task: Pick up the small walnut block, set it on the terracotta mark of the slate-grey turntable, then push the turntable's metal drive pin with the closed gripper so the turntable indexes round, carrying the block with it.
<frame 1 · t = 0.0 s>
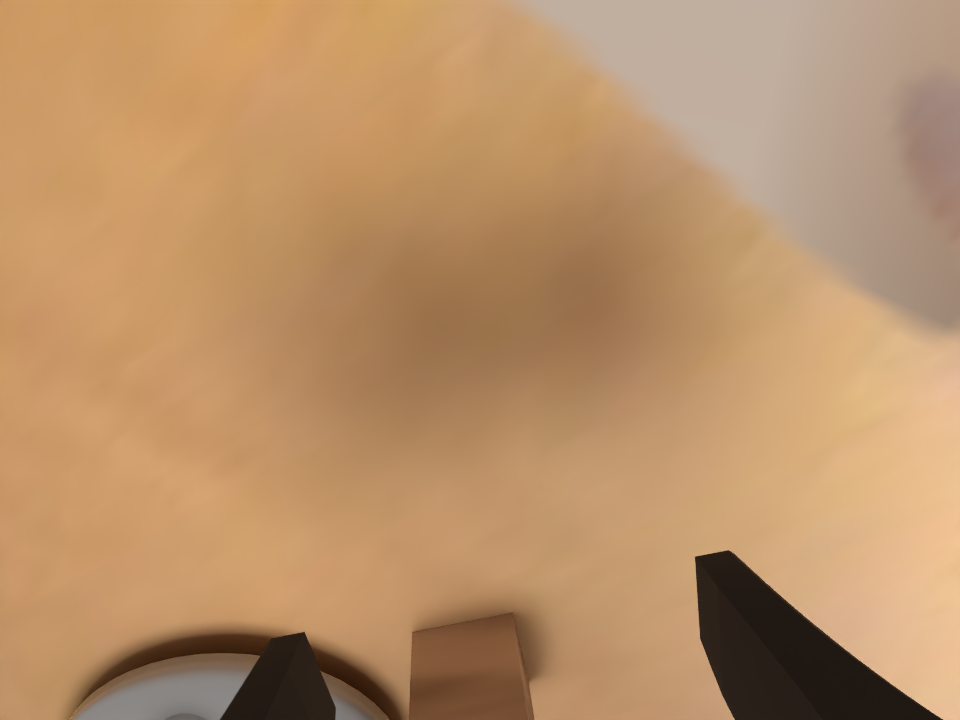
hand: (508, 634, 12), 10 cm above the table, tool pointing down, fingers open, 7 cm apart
walnut block: (472, 657, 26), on the table
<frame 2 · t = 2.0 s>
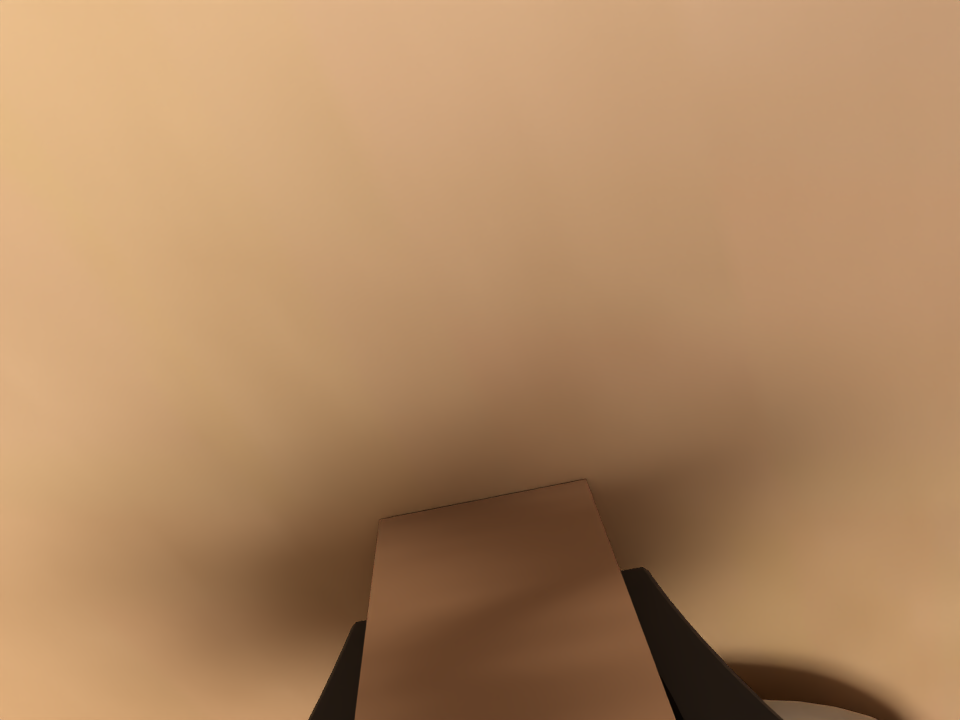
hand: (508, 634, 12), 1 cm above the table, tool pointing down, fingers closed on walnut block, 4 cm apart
walnut block: (500, 578, 13), on the table, touching gripper
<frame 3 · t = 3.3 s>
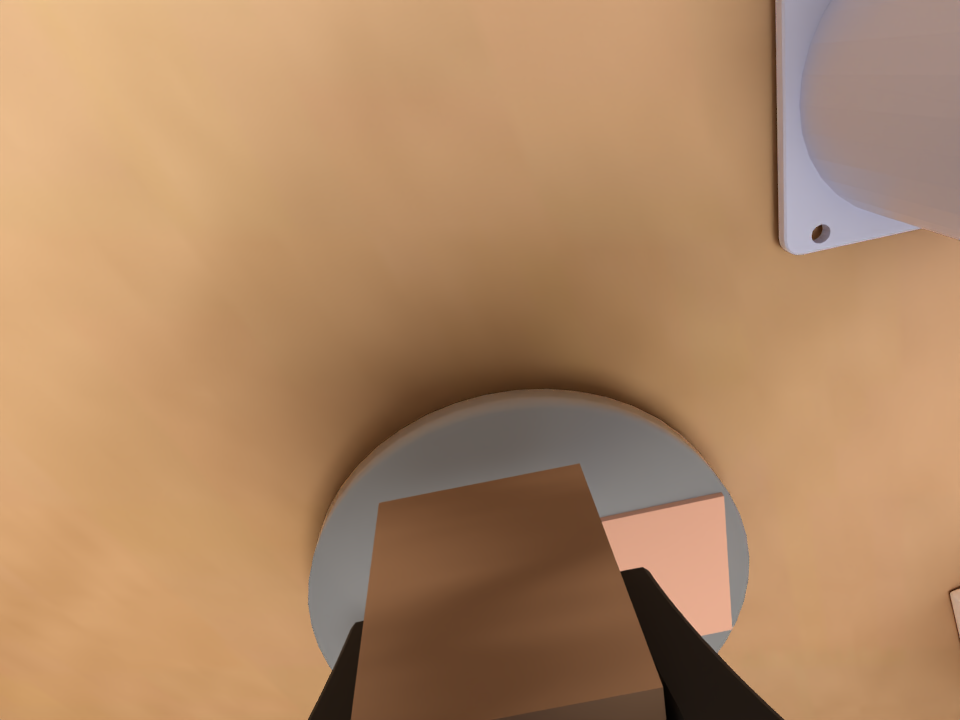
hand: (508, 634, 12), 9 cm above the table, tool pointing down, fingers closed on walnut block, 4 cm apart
walnut block: (496, 561, 13), point 7 cm above the table, touching gripper
turntable: (537, 630, 19), point 3 cm above the table, hinge at 0.0°
when the fingers open (5 cm above the table, at t = 4.9 s): walnut block stays where it is, resting on turntable.
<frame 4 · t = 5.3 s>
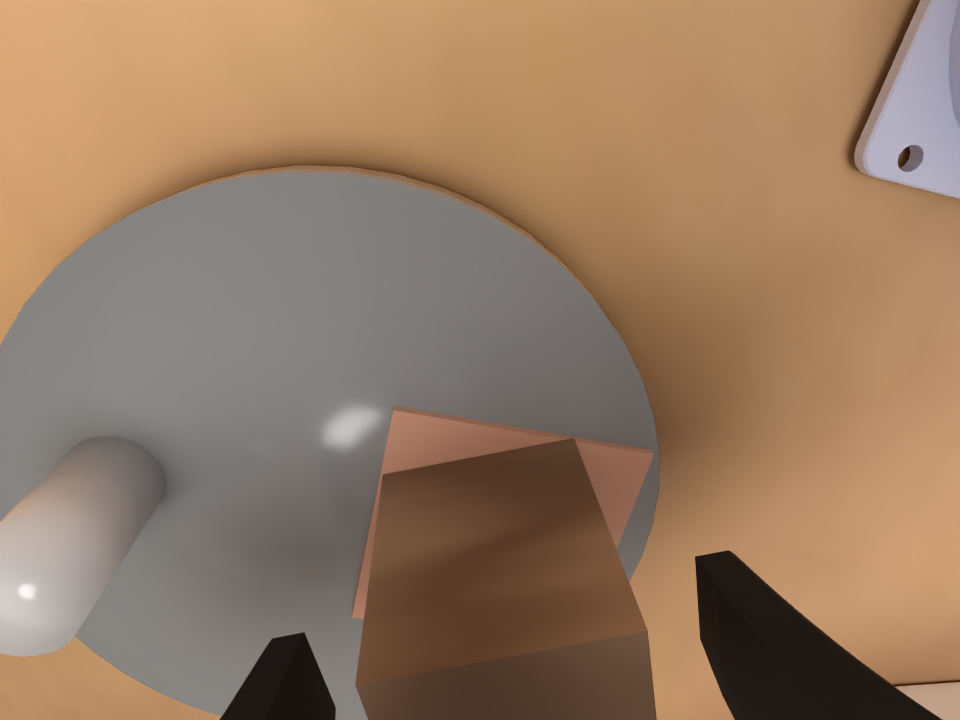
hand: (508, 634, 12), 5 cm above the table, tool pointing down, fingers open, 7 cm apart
walnut block: (494, 532, 14), point 2 cm above the table, touching turntable
turntable: (328, 547, 13), point 3 cm above the table, hinge at 0.0°, touching walnut block
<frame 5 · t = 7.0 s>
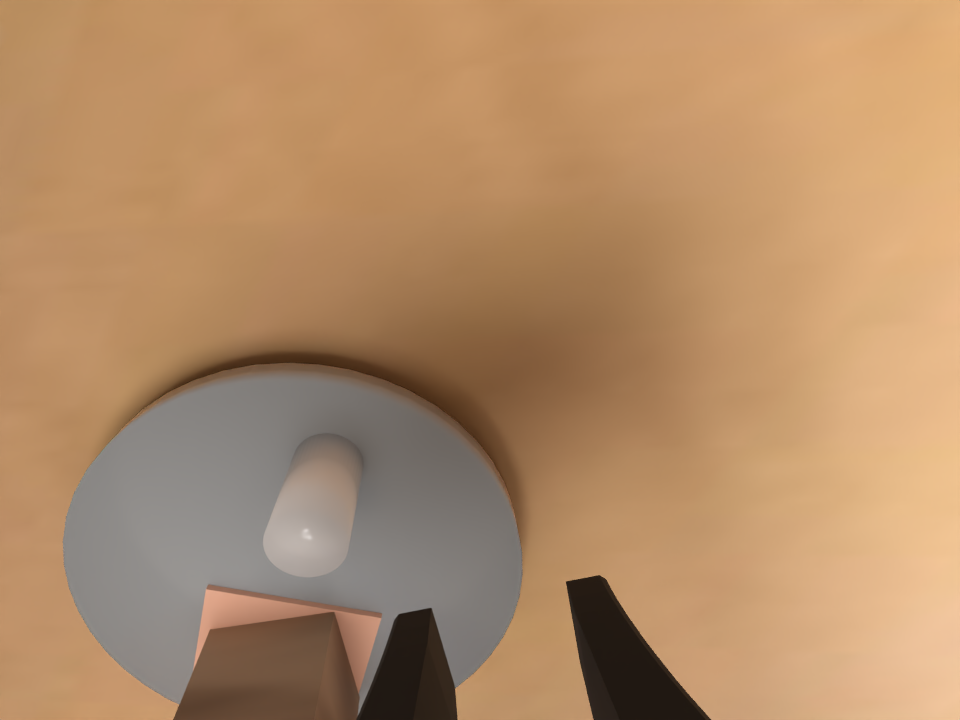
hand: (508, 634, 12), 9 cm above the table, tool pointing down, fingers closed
walnut block: (287, 664, 21), point 2 cm above the table, touching turntable
turntable: (293, 609, 19), point 3 cm above the table, hinge at 0.0°, touching walnut block
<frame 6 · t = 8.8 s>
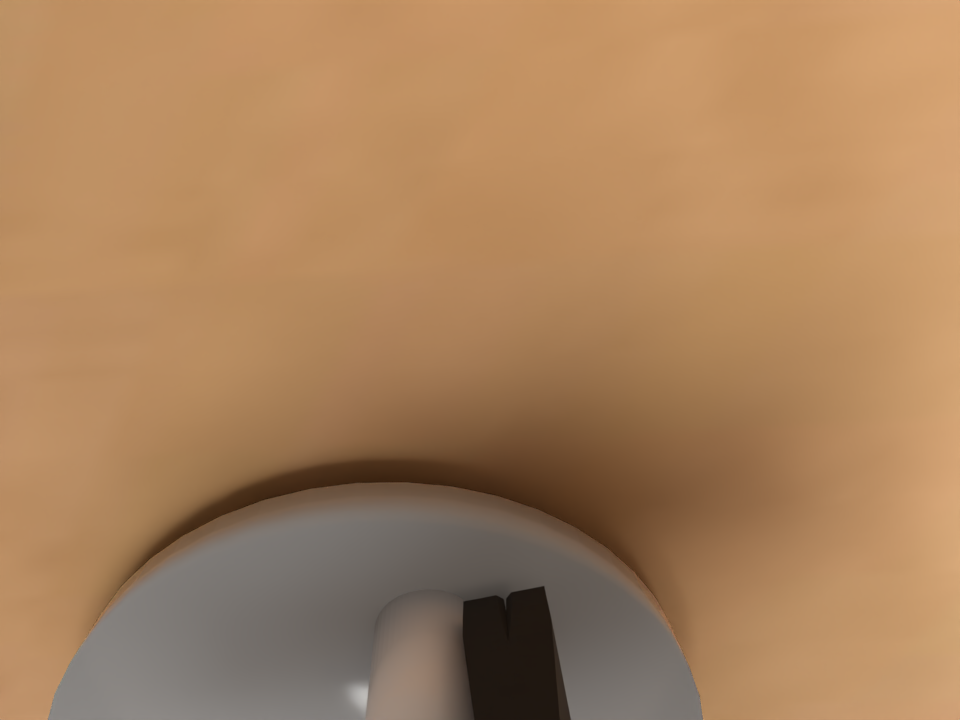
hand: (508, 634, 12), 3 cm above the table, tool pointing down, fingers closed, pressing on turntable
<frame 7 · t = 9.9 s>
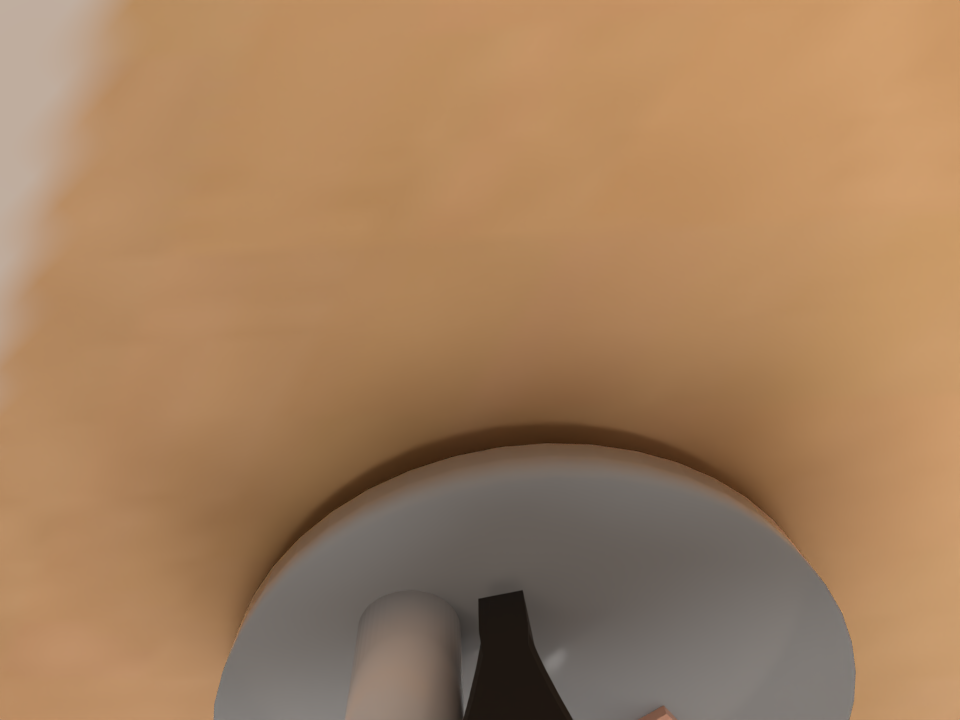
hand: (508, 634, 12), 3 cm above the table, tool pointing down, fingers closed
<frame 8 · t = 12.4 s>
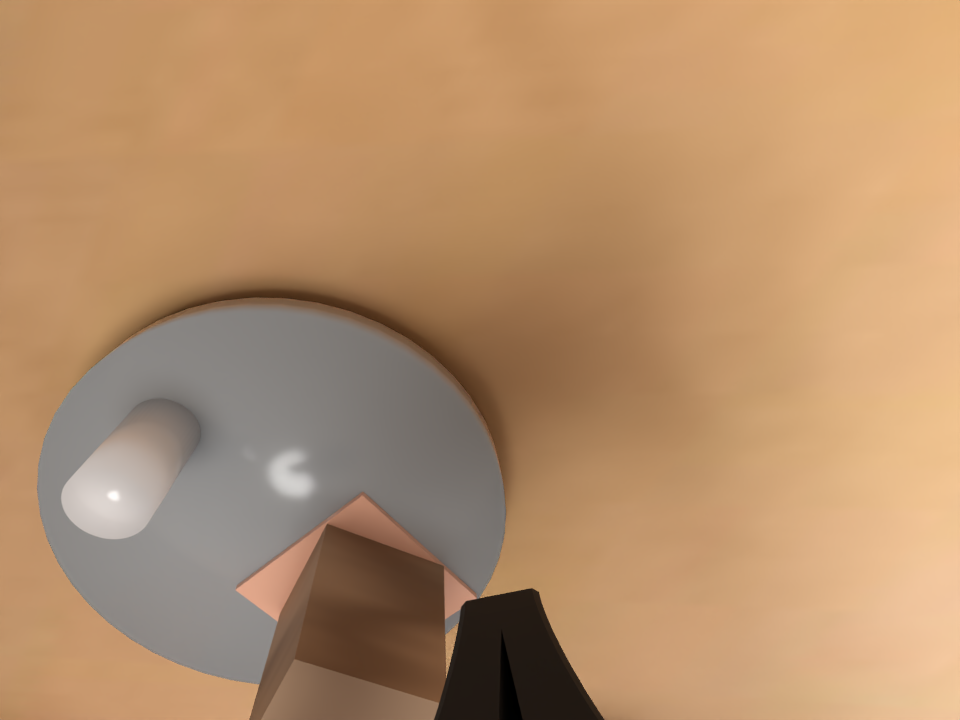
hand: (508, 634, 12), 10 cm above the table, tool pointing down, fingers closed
walnut block: (361, 589, 21), point 2 cm above the table, touching turntable
turntable: (271, 550, 19), point 3 cm above the table, hinge at 55.1°, touching walnut block
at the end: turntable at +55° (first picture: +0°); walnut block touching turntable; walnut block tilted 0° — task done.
